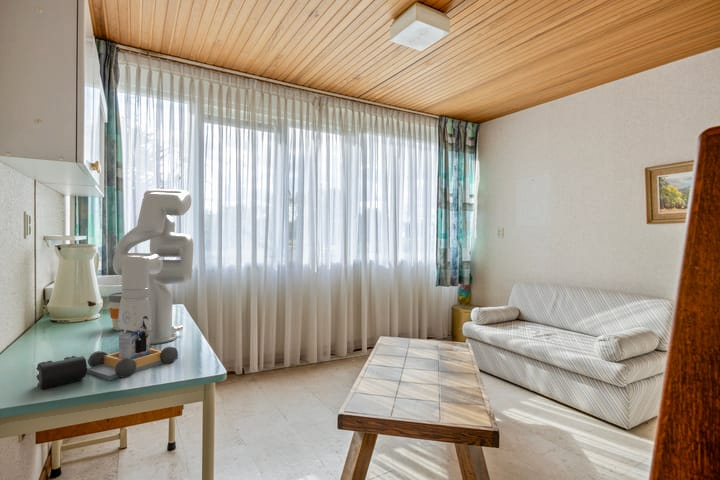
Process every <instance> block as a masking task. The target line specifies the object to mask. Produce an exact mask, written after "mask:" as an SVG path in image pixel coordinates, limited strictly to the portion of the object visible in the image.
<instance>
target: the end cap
mask: <svg viewBox="0 0 720 480" xmlns="http://www.w3.org/2000/svg"><path fill="white" fill-rule="evenodd" d="M87 368H88V362H87V359H86V357H85V356H84V355H80V356H75V355H72V356H67V357H64V358H63V359H62V360H55V361H52V360H48V361H42V362H39V363H37V366H36V370H37V371H38V374H37V375H36V379H37V381H38V383H37V386H38V388H39V389H41V390H45V389H50V388H52V387H57V386H61V385H65V384H70V383H73V382H74V383H75V382H78V381H82V380H83V379H84V378H85V377H86V375H87V374H88V373H87Z"/></svg>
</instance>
